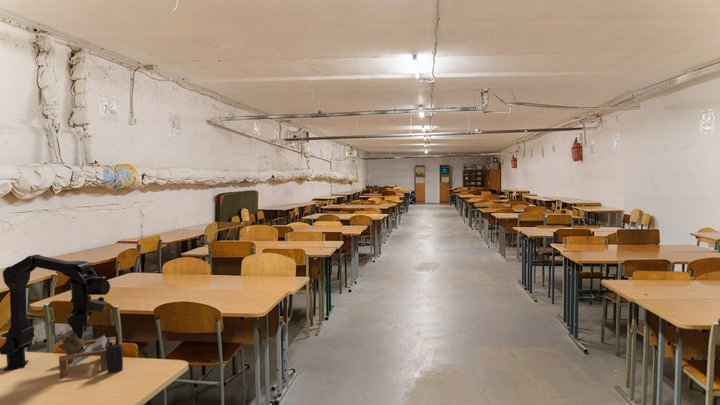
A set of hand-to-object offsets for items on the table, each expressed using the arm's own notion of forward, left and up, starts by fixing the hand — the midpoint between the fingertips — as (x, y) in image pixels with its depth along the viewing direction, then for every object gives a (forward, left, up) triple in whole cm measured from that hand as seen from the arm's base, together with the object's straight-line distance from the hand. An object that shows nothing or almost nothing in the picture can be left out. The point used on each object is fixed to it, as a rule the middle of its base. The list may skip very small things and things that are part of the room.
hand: (82, 334), depth 171 cm
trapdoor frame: (0, +2, -12) cm, 13 cm away
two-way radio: (+11, +12, -13) cm, 20 cm away
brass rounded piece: (0, 0, -7) cm, 7 cm away
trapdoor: (0, +3, -7) cm, 8 cm away
